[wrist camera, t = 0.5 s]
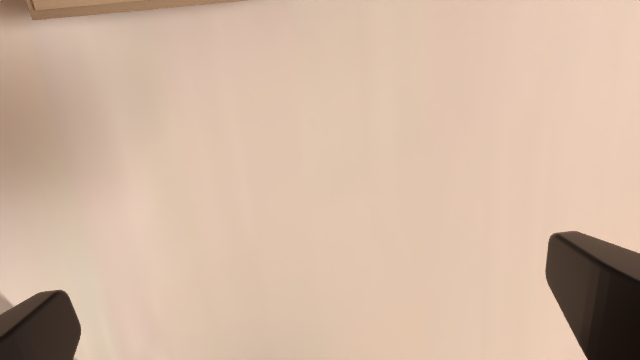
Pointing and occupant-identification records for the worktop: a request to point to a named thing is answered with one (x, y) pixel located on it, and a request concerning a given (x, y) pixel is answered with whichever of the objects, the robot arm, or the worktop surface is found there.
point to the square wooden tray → (102, 6)
